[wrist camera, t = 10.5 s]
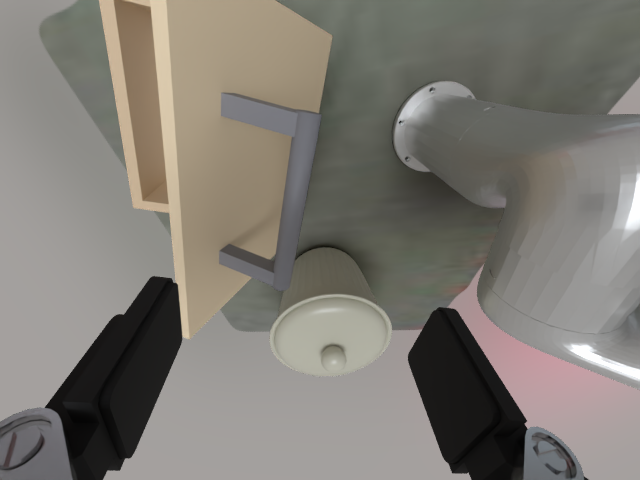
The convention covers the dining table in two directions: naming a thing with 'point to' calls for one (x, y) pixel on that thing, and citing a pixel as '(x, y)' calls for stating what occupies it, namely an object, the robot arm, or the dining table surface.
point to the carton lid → (235, 141)
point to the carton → (137, 98)
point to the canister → (328, 317)
